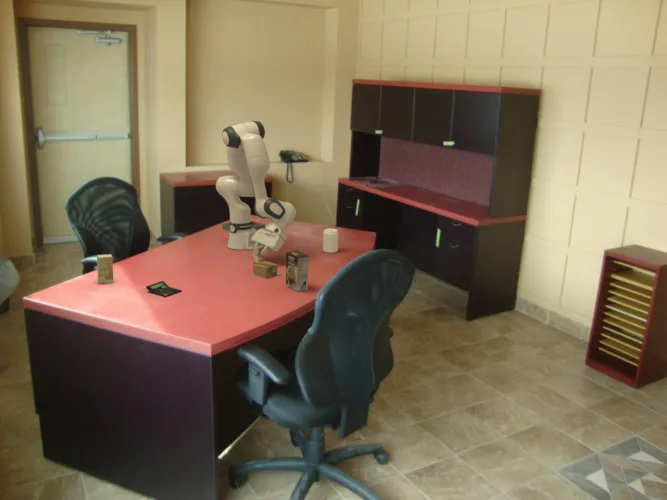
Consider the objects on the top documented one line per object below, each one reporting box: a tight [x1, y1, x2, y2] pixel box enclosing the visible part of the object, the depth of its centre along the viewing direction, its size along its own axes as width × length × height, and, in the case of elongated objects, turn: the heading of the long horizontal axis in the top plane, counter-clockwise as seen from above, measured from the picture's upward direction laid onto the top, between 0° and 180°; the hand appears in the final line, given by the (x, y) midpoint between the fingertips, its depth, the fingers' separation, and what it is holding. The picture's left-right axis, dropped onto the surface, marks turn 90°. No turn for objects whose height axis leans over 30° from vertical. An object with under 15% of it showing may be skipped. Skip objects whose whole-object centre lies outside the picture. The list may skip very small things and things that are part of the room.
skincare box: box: [96, 254, 114, 285], centre depth 281 cm, size 6×4×12 cm
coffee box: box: [285, 250, 310, 292], centre depth 281 cm, size 9×6×16 cm
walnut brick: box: [252, 260, 278, 279], centre depth 297 cm, size 8×8×5 cm
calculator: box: [145, 280, 183, 298], centre depth 273 cm, size 9×12×3 cm
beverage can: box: [322, 228, 339, 254], centre depth 343 cm, size 8×8×12 cm
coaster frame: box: [221, 220, 266, 231], centre depth 389 cm, size 18×18×3 cm
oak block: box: [252, 245, 265, 264], centre depth 315 cm, size 4×4×8 cm
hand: (257, 253), depth 315 cm, fingers closed on oak block, 4 cm apart
